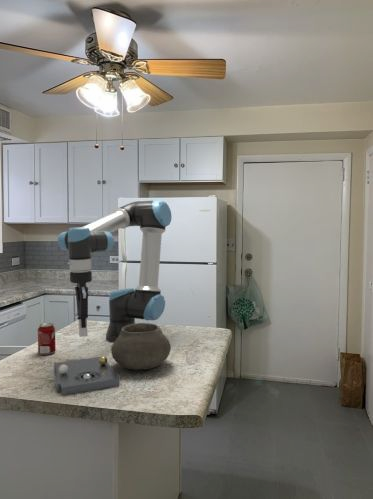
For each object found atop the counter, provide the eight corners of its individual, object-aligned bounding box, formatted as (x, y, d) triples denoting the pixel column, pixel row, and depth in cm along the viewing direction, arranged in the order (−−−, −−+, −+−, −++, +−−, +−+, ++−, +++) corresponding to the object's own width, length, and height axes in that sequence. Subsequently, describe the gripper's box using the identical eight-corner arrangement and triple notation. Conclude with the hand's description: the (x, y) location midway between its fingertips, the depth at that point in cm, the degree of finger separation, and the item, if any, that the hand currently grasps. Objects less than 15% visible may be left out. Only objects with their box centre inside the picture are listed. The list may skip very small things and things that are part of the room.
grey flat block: (51, 370, 140) (51, 363, 140) (106, 362, 148) (106, 355, 148) (58, 396, 118) (58, 388, 118) (122, 385, 126) (121, 377, 126)
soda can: (49, 356, 155) (49, 327, 155) (34, 355, 157) (34, 326, 156) (58, 351, 162) (58, 323, 161) (44, 350, 163) (43, 322, 163)
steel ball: (91, 372, 131) (92, 373, 128) (91, 382, 130) (93, 383, 127) (81, 373, 129) (82, 374, 126) (81, 383, 129) (83, 384, 126)
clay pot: (122, 382, 129) (121, 338, 128) (104, 362, 148) (104, 324, 147) (180, 371, 139) (180, 330, 138) (156, 354, 158) (156, 318, 157)
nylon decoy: (67, 371, 132) (67, 362, 132) (68, 374, 130) (68, 365, 129) (58, 372, 131) (58, 363, 131) (59, 375, 128) (59, 366, 128)
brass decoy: (106, 362, 141) (106, 354, 141) (108, 365, 138) (108, 357, 138) (98, 363, 140) (98, 355, 139) (99, 366, 137) (99, 358, 137)
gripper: (67, 269, 141) (70, 332, 143) (72, 274, 129) (75, 342, 131) (88, 268, 144) (90, 329, 146) (95, 272, 132) (97, 339, 134)
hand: (83, 335), depth 138 cm, fingers closed
